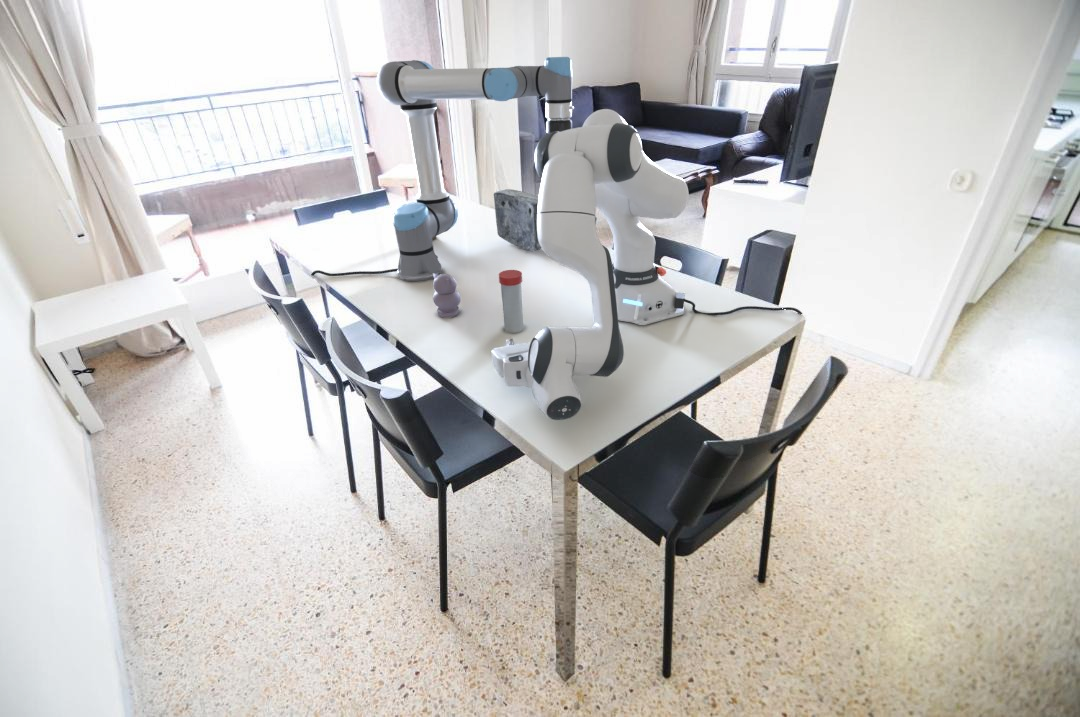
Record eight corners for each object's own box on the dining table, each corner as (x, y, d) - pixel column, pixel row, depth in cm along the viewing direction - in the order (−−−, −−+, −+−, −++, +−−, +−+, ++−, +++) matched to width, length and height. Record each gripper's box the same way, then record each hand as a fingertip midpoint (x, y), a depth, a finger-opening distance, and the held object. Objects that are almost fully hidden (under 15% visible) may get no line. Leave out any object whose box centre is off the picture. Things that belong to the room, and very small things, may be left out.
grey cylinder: (500, 330, 138) (496, 277, 130) (511, 322, 142) (507, 270, 133) (516, 334, 135) (513, 280, 127) (527, 326, 139) (524, 273, 131)
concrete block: (553, 252, 189) (552, 199, 179) (534, 258, 185) (532, 204, 175) (514, 236, 208) (511, 187, 198) (496, 241, 204) (492, 191, 193)
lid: (494, 283, 130) (494, 276, 129) (507, 275, 135) (507, 268, 134) (514, 287, 128) (513, 280, 126) (526, 279, 132) (526, 272, 131)
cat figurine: (468, 312, 148) (463, 274, 142) (447, 321, 143) (441, 282, 137) (450, 304, 153) (445, 267, 147) (429, 313, 148) (423, 275, 142)
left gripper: (562, 124, 132) (562, 205, 143) (580, 114, 153) (579, 185, 164) (534, 124, 134) (537, 204, 145) (556, 114, 155) (557, 184, 166)
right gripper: (588, 347, 110) (569, 320, 121) (497, 363, 106) (486, 333, 117) (587, 371, 113) (569, 342, 124) (499, 387, 109) (489, 356, 120)
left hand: (559, 194), depth 155 cm, fingers open, 13 cm apart
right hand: (528, 338), depth 121 cm, fingers open, 8 cm apart
